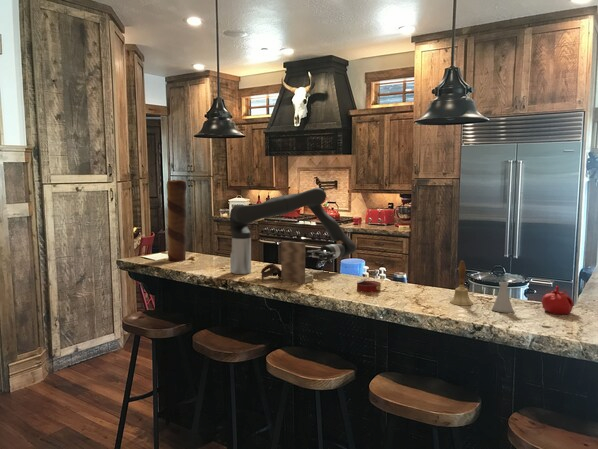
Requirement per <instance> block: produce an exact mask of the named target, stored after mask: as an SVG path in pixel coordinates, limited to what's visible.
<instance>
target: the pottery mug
mask: <svg viewBox="0 0 598 449" xmlns="http://www.w3.org/2000/svg"><path fill="white" fill-rule="evenodd" d="M280 268H281V267H279V266H278V265H275V264H274V263H270V264H267V265H266V266H264V267H263V268H262V269H261V271H260V273H261V280H264V278H268V277H277V278H278V279H281V269H280Z"/></svg>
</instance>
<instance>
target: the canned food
mask: <svg viewBox="0 0 598 449" xmlns="http://www.w3.org/2000/svg"><path fill="white" fill-rule="evenodd" d="M378 273H379V271H376V272H373V273H372V275H370V276H369V277H366V278H364V279H362V280H359V281H357V282H356V290H357V292H361V291H362V293H370V294H371V293H379V292H380V291H381V289H382V288H381V286H382V285H381V282H379V281H376V280H368V279H370V278H372V277H373V276H375V275H377V274H378Z"/></svg>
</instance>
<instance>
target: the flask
mask: <svg viewBox="0 0 598 449" xmlns="http://www.w3.org/2000/svg"><path fill="white" fill-rule="evenodd" d="M498 286H499V290H498V293H497V296H496V298H495V301H494V303H493V305H492V307H491V311H494V312H498V313H505V314H509V313H514V308H513V306H512V303H511V300H510V296H509V291H508V286H509V282H505V281H499V282H498Z"/></svg>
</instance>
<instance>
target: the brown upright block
mask: <svg viewBox="0 0 598 449" xmlns="http://www.w3.org/2000/svg"><path fill="white" fill-rule="evenodd" d="M280 242H281V244H280V245H281V247H280V248H281V253H280V254H281V258H280V260H281V261H280V262H281V267H280V268H281V269H280V270H281V278H280V280H281V282H288V283H294V284H301V285H305V284H306V283H311V282H313V281H314V275H313V274H307V273H306V257H305V251H306V242H300V241H299V242H296V241H287V240H281V241H280Z"/></svg>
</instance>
